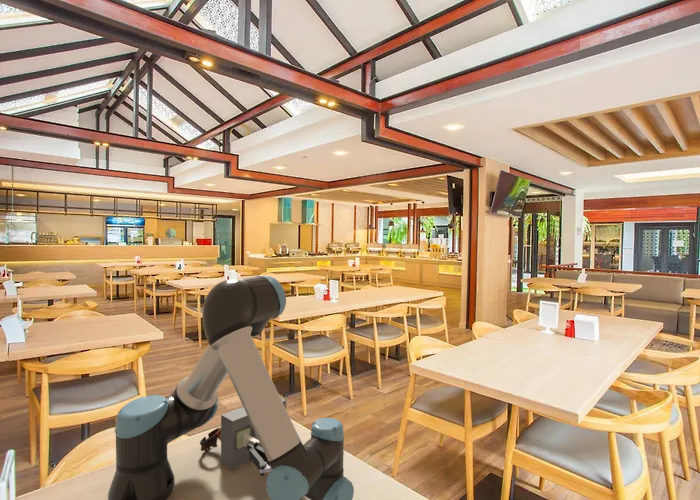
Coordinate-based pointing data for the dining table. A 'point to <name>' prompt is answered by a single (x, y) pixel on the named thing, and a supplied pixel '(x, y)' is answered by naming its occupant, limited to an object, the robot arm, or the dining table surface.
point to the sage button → (241, 436)
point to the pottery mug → (211, 439)
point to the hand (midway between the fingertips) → (244, 439)
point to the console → (228, 437)
